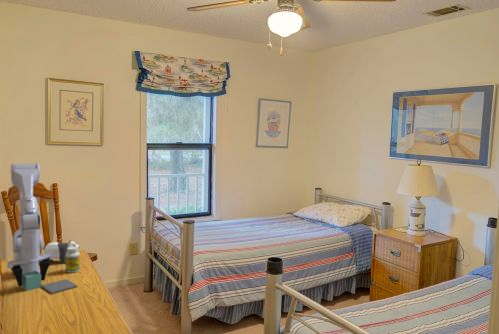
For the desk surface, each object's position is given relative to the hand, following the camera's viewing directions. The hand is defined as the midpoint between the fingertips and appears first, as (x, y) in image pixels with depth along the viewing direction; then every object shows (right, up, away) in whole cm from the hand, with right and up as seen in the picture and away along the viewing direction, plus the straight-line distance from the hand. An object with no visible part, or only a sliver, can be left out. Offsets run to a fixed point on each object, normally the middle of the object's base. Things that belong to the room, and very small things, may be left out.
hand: (31, 282), depth 144 cm
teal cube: (0, -2, 0) cm, 2 cm away
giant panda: (-3, +1, +28) cm, 28 cm away
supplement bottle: (+7, -1, +18) cm, 19 cm away
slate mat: (+10, -2, +1) cm, 10 cm away
